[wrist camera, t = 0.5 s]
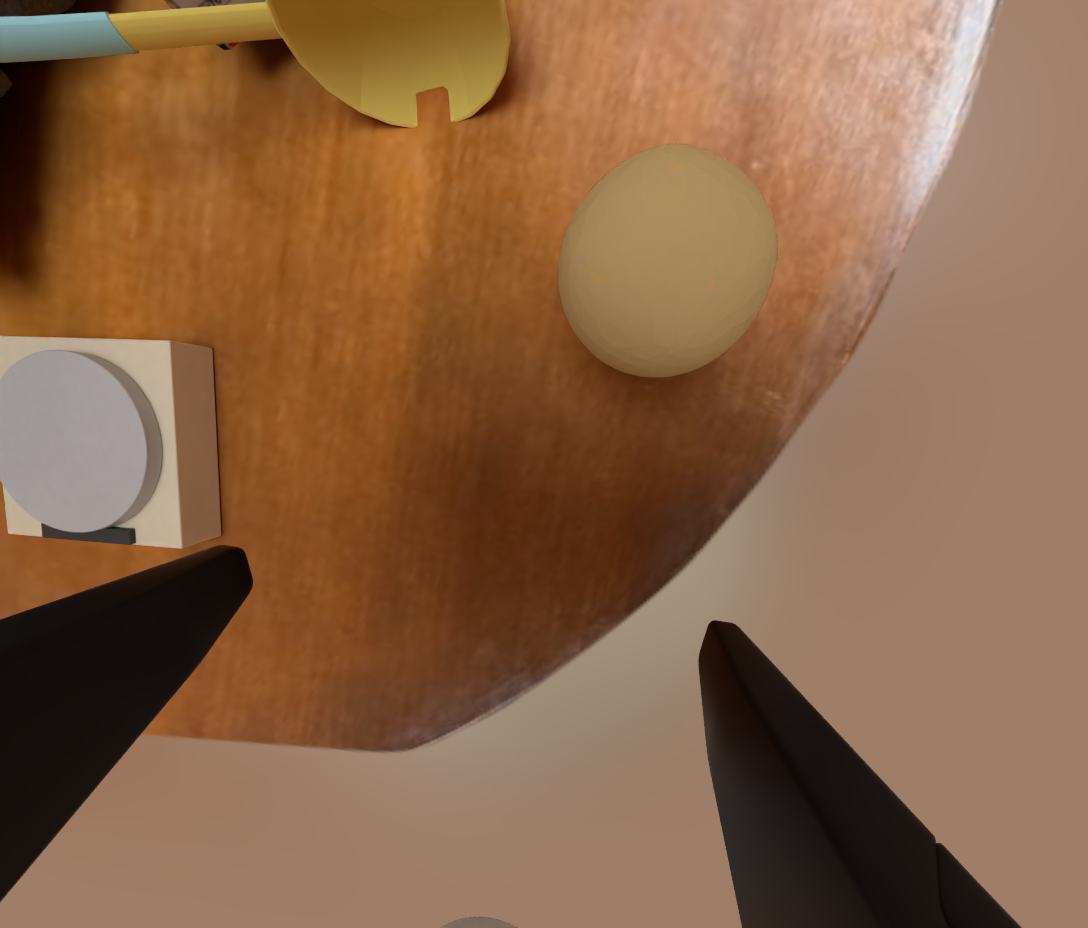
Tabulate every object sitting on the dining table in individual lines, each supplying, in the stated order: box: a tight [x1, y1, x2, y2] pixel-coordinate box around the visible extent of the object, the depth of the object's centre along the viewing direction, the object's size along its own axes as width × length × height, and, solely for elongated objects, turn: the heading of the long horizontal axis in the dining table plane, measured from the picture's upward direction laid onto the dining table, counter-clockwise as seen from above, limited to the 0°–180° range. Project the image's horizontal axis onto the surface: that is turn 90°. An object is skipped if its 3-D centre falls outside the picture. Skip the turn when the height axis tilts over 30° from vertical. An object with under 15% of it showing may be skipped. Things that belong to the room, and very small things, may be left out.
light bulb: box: [558, 144, 778, 378], centre depth 15 cm, size 6×6×10 cm
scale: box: [0, 336, 221, 549], centre depth 22 cm, size 10×10×3 cm
